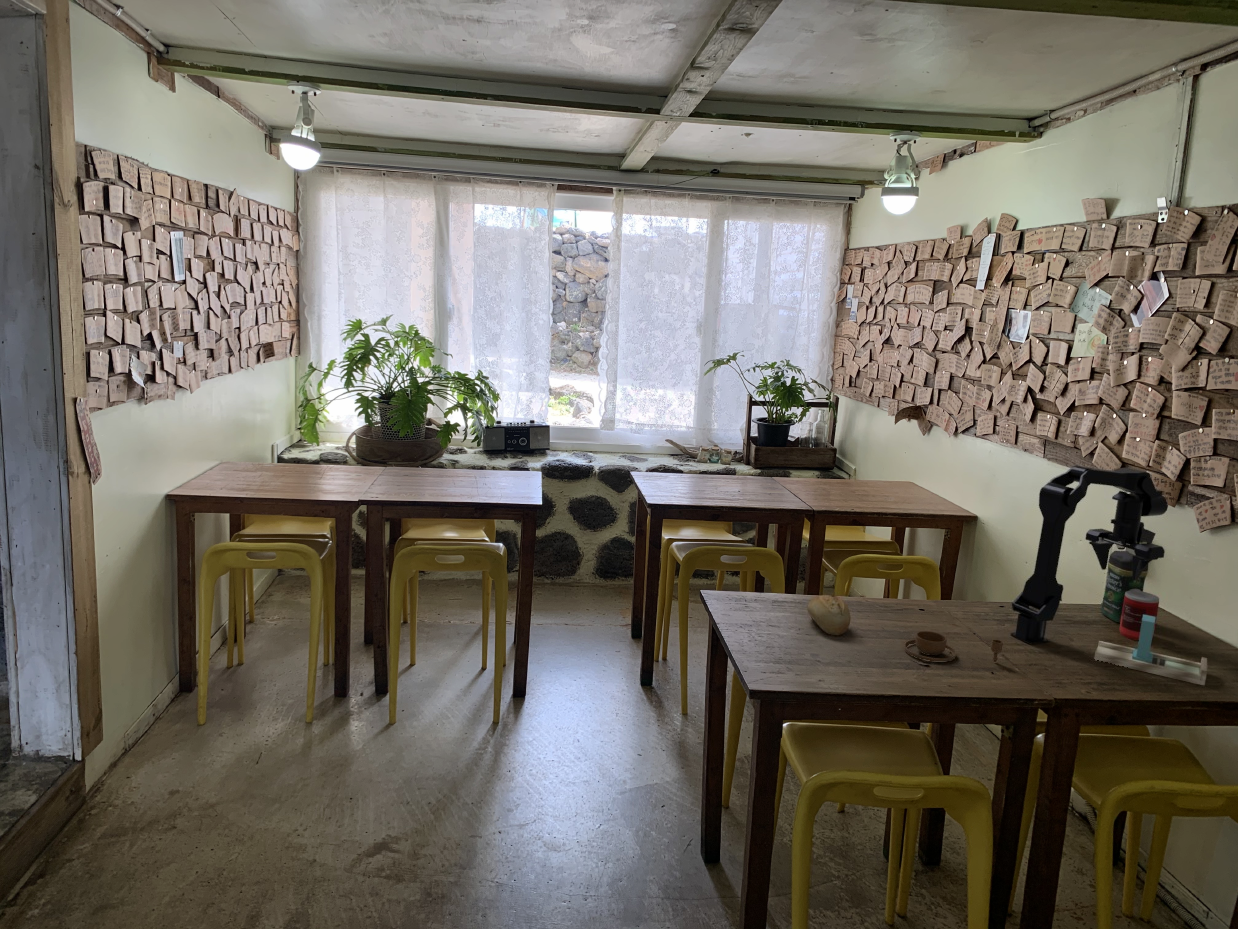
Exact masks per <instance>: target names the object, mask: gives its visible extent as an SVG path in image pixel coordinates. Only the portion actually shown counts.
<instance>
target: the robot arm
mask: <svg viewBox="0 0 1238 929" xmlns="http://www.w3.org/2000/svg"><path fill="white" fill-rule="evenodd" d="M1075 482H1076V483H1078V485H1076V487H1075V488H1073V487H1071V486H1070V485H1071V484H1073V483H1075ZM1091 484H1092V485H1101V486H1102V485H1103V486H1110V487H1114V488H1117V489H1120V490H1119V491H1118V492H1117V493H1116V494H1114V495H1112V498H1111V500H1115V501H1117V502H1116V510H1115V517H1114V518H1112V519H1110V524H1112V525H1113V529H1112V531H1111V530H1107V529H1104V528H1094V529H1091V528H1089V530H1087V532H1086V534H1085V540H1086V541H1089V542H1088V544H1089V545H1091V547H1092V549H1093V551H1094V553H1095V555H1096V557H1097V561H1098V562H1099V566H1100V569H1101V570H1102V571H1105V570H1106V569H1107V568H1108V561H1109V557H1110V555H1109V554H1110V550H1111V548H1112V547H1113V545H1117V546H1120V547H1123V548H1126V549H1130V550H1133V551H1134V555H1136V556H1133V564H1132V576H1133V580H1134V581H1136V580H1138V578H1139V576H1140V575H1141V573H1142V572H1143V570H1144V569H1145V567H1146V566H1147V565H1148V566H1149V563H1150V562H1152V561H1156V560H1158V559H1162V558H1163V559H1164V558H1165V552H1166V551H1165V548H1164V547H1163V546H1162V545H1159V544H1155V543H1153V540H1154V539H1155V536H1156V532H1153V531H1151V530H1149V529H1146V528H1145V522H1143V521H1142V520H1141V519H1142V517H1153V516H1155V517H1156V516H1157V517H1158V516H1162V515H1164V514H1165V513H1166V512H1167V511H1168V507H1169V504H1168V502H1167V499H1166V498H1165V496H1163V491H1162V490H1160V489H1156V487H1155V484H1154V481H1153V479H1152V477H1151V473H1150V472H1147V471H1142V470H1139V469H1134V468H1130V467H1120V468H1116V469H1113V470H1112V469H1111V470H1109V469H1101V468H1095V467H1093V468H1092V467H1086V466H1082V465H1073V466H1071V467H1070V468H1069V469H1068V470H1067V471H1065V472H1063V473H1061V474H1059V475H1056V476H1054V477H1052V478H1051V479H1050V480H1049V481H1048V482H1046V484H1044V486H1042V487H1041V488H1040V490H1039V494H1038V496H1039V497H1038V508H1039V512H1041V515H1042V524H1041V525H1042V526H1041V530H1040V531H1041V532H1040V536H1039V542H1038V548H1037V554H1036V559H1035V565H1034V571H1033V574H1031V576H1030V577H1028V579H1026V581H1025V583H1024V586H1023V589H1022V591H1021V592H1020V594H1019V595H1018V596H1017V597H1016V598H1015V599H1014V600H1013V602H1012V603H1011V608H1012V609H1011V610H1012V611H1013V612H1017V619H1016V620H1017V621H1016V629H1015V631H1014V632H1010V636H1012V637H1014V638H1016V639H1018V640H1020V641H1023V642H1024V643H1027V644H1029V645H1033V644H1042V643H1048V642H1049V641H1050V640H1049V639H1048V638H1046V637H1045V636H1046V630H1047V622H1050V621H1051V622H1052V621H1053V620H1054V618H1055V615H1056V613H1057V611H1058V609H1059V606H1060V603H1061V602H1062V601H1063V597H1062V596H1063V591H1064V585H1063V584H1061V583H1058V579H1057V572H1058V566H1059V562H1060V555H1061V549H1062V545H1063V538H1064V533H1065V529H1066V523H1067V521H1068V520H1069V519H1070V518H1071V517H1072V516H1073V515H1074V514H1075V511H1076V509H1077V505H1078V504H1079V503H1080V502H1081V501H1082V500H1083V499H1084V498H1085V497H1086V495H1087V491H1088V488H1089V487H1090V485H1091ZM1069 486H1070V487H1069ZM1122 490H1123V491H1122ZM1033 608H1034V609H1033ZM1037 610H1038V611H1037Z"/></svg>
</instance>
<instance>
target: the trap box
mask: <svg viewBox="0 0 1238 929" xmlns="http://www.w3.org/2000/svg"><path fill="white" fill-rule="evenodd" d="M1134 649H1135V648H1134V647H1129V646H1125V645H1120V644H1116V643H1111V642H1108V641H1106V642H1105V641H1102V640H1098V646H1097V648H1096V650H1095V652H1094V658H1093V660H1094V659H1095V660H1094V661H1097V660H1099V661H1098V662H1101V661H1103V662H1102V663H1105V662H1108V663H1107V664H1110V663H1112V664H1111V665H1114V664H1115V666H1118V665H1119V667H1122V666H1124V667H1123V668H1127V667H1128V668H1127V669H1132V670H1136V671H1140V672H1144V673H1149V674H1153V675H1158V676H1161V677H1165V678H1170V679H1174V680H1179V681H1183V682H1188V683H1192V684H1195V685H1200V686H1205V685H1206V679H1207V675H1208V673H1207V672H1208V658H1207V657H1203V656H1201V661H1200V662H1199V661H1197V662H1196V661H1192V660H1188V659H1183V658H1179V657H1175V656H1171V655H1170V656H1169V655H1166V654H1161V653H1156V652H1152V653H1153V659H1152V663H1147V662H1143V661H1139V660H1134V659H1132V656H1133V651H1134Z"/></svg>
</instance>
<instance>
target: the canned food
mask: <svg viewBox="0 0 1238 929" xmlns="http://www.w3.org/2000/svg"><path fill="white" fill-rule="evenodd" d="M1159 605H1160V597H1159V596H1157V595H1155V594H1154V593H1151V592H1145V591H1143V592H1142V591H1127V592H1125V597H1124V603H1123V609H1122V616H1121V622H1119V623H1120V624H1119V633H1120V635H1121V636H1123V637H1125V638H1127V639H1130V640H1133V639H1134V640H1133V641H1138V640H1139V636H1140V630H1141V624H1142V618H1143V614H1144V615H1149V616H1154V617H1155V623H1154V629H1153V636H1152V639H1153V638H1154V634H1155V629H1156V622H1157V616H1158V611H1159Z"/></svg>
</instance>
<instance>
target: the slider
mask: <svg viewBox="0 0 1238 929" xmlns="http://www.w3.org/2000/svg"><path fill="white" fill-rule="evenodd" d="M1154 623H1155V617H1154V616H1149V615H1144V614H1143V618H1142V624H1141V630H1140V636H1139V641H1138V643H1137V648H1134V651H1133V656H1132V659H1134V660H1139V661H1143V662H1147V663H1152V659H1153V653H1154V652H1152V651H1151V646H1152V642H1153V641H1152V640H1153V638H1152V636H1153V637H1154V635H1153V629H1154ZM1154 630H1155V629H1154Z"/></svg>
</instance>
